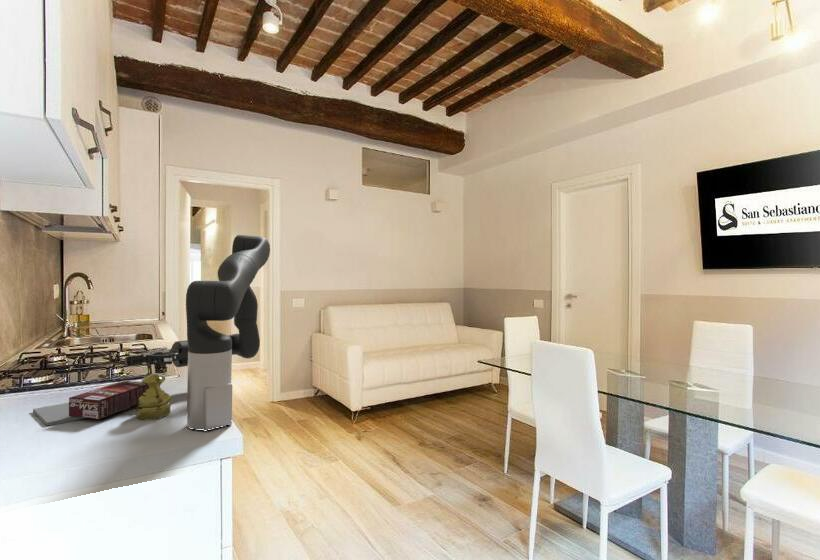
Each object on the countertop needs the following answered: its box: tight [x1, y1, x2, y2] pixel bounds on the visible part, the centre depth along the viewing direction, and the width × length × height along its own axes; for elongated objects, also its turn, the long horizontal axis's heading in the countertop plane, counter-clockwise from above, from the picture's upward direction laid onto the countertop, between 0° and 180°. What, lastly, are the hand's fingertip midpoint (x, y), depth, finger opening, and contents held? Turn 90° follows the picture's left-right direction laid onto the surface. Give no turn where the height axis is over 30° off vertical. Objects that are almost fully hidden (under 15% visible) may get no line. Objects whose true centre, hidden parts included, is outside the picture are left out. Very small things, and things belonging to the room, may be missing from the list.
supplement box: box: [68, 380, 147, 420], centre depth 106 cm, size 9×5×16 cm
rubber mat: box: [32, 402, 129, 427], centre depth 106 cm, size 14×16×1 cm
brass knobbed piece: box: [135, 373, 172, 420], centre depth 104 cm, size 7×7×10 cm
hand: (125, 361), depth 113 cm, fingers closed
